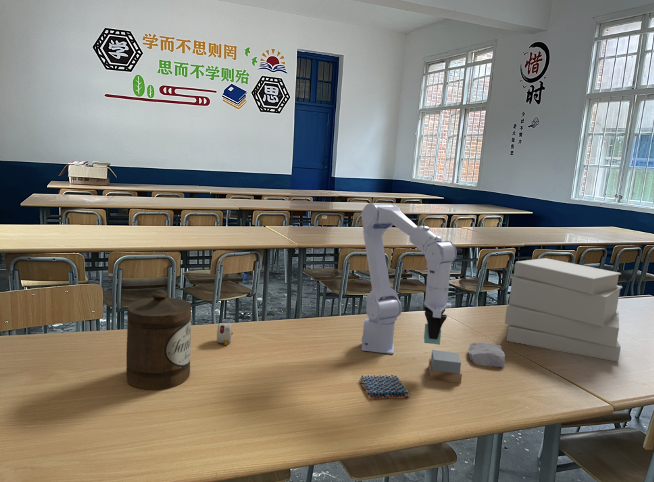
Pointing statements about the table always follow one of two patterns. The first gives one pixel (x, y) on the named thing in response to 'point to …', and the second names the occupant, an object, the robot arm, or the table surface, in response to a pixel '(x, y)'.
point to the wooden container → (158, 342)
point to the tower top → (445, 361)
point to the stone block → (486, 354)
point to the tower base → (444, 375)
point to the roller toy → (224, 333)
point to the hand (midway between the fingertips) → (432, 335)
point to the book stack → (564, 308)
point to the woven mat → (384, 387)
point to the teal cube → (431, 341)
